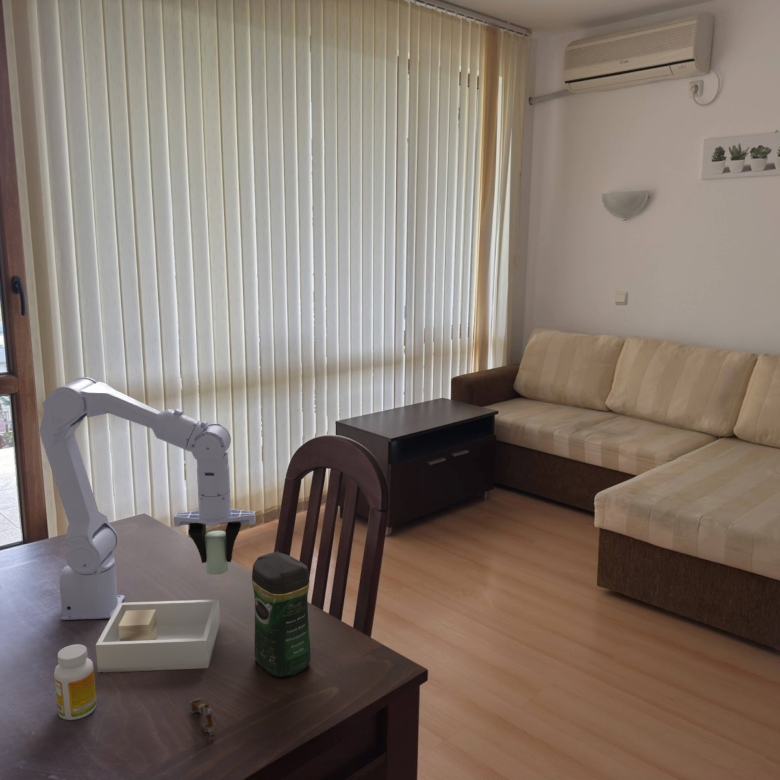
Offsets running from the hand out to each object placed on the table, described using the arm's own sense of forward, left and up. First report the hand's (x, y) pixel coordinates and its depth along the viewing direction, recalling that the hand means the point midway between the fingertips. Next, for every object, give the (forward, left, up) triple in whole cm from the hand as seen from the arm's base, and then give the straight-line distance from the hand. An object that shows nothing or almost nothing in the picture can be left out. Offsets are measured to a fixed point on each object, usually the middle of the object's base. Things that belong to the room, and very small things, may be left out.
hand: (217, 560), depth 135 cm
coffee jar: (+13, -18, -10) cm, 25 cm away
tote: (-8, -12, -10) cm, 18 cm away
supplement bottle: (-17, -28, -10) cm, 34 cm away
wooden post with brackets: (+3, -32, -11) cm, 34 cm away
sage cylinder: (0, 0, -2) cm, 2 cm away
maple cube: (-12, -12, -9) cm, 19 cm away
